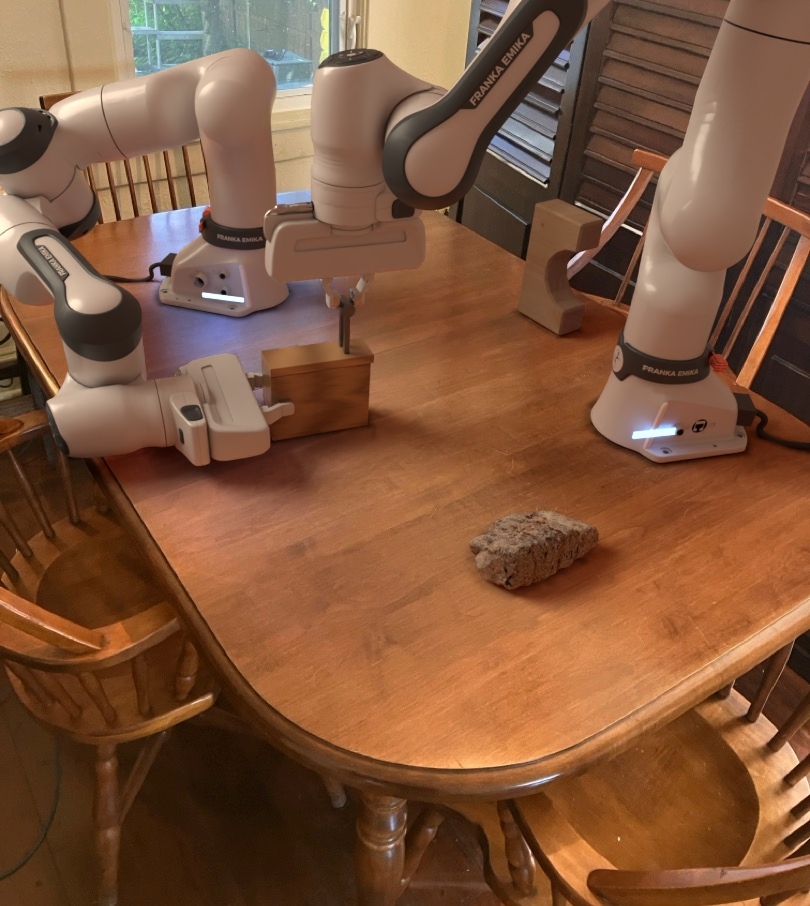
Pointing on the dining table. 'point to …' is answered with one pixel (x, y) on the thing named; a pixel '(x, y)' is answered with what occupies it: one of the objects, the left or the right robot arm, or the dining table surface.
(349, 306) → the lid
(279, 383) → the chest
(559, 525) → the rock
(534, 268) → the decorative block
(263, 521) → the dining table surface
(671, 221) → the right robot arm
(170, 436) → the left robot arm
